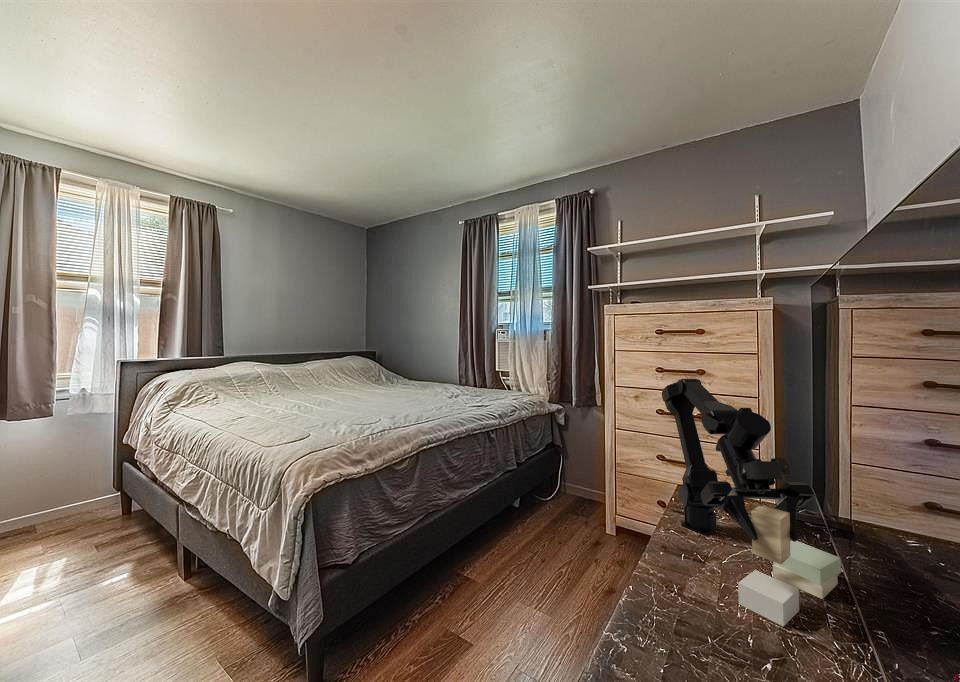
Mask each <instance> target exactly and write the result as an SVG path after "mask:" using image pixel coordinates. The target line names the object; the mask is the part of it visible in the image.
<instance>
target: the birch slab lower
mask: <svg viewBox="0 0 960 682" xmlns="http://www.w3.org/2000/svg"><path fill="white" fill-rule="evenodd" d="M772 577H773V578H775V579H777V580H780V581H782V582H784V583H787V584H789V585H791V586H794V587H796V588H798V589H799V590H801V591H803V592H805V593H808V594H810V595H812V596H815V597H817V598H818V599H821V600H823V599H825V597H827V595H829V593H831V592H832V590H833V589H834V588H835V587H836V586H837V585H838V584H839V583H838V579H839V578H838V575H837V576H835V577H833V578H832V579H830V580H828V581H827V582H825V583H823V584H821V585H819V584H817V583H815V582H813V581H811V580H808V579H806V578H804V577H802V576H800V575H797V574H795V573H793V572H791V571H789V570H787V569H784V568H782V567H780V566H778V565H776V564H772Z"/></svg>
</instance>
